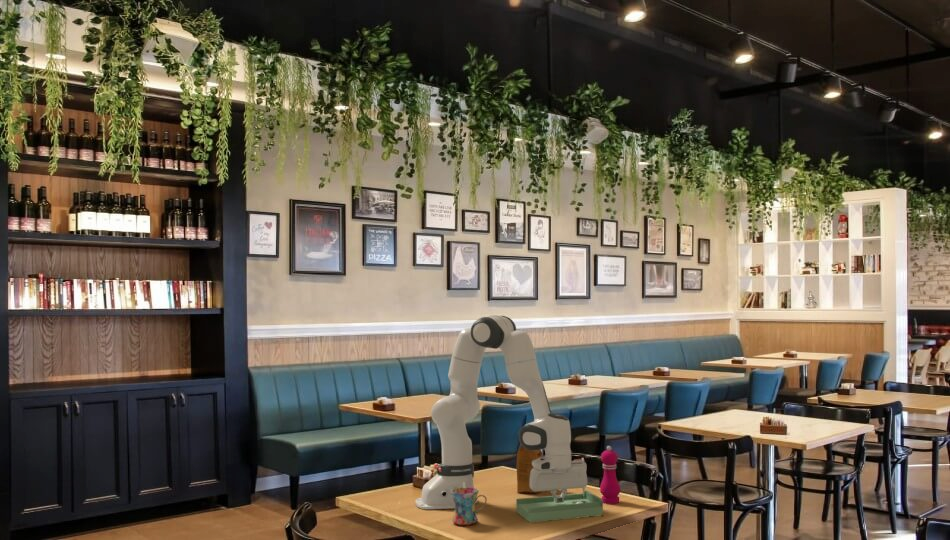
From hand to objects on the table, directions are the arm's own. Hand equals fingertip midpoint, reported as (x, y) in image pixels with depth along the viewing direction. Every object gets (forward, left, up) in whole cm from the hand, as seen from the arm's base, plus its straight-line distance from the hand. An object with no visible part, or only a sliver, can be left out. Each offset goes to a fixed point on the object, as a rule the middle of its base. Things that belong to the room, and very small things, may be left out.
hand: (558, 502), depth 279 cm
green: (0, -1, -4) cm, 4 cm away
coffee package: (+2, +34, -4) cm, 35 cm away
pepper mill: (+23, +8, -4) cm, 25 cm away
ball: (+7, -1, -2) cm, 8 cm away
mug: (-32, -2, -4) cm, 32 cm away
